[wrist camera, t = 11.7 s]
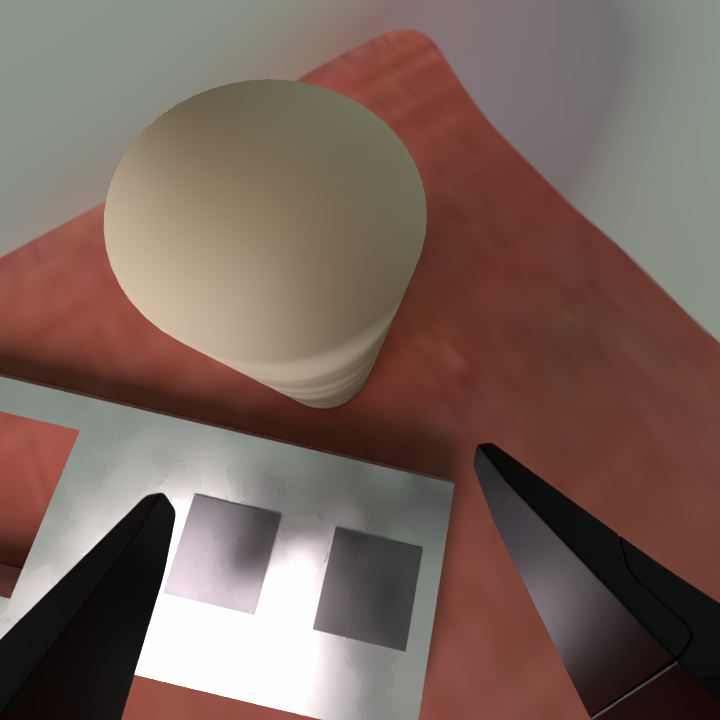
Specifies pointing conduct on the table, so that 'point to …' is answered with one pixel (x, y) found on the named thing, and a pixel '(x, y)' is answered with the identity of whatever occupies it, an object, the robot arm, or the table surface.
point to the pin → (270, 233)
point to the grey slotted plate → (251, 555)
